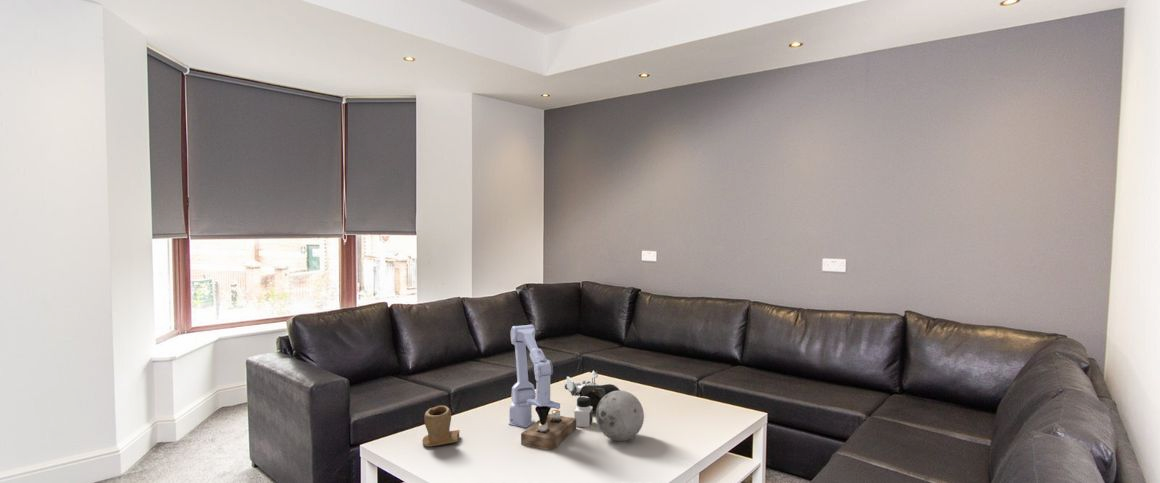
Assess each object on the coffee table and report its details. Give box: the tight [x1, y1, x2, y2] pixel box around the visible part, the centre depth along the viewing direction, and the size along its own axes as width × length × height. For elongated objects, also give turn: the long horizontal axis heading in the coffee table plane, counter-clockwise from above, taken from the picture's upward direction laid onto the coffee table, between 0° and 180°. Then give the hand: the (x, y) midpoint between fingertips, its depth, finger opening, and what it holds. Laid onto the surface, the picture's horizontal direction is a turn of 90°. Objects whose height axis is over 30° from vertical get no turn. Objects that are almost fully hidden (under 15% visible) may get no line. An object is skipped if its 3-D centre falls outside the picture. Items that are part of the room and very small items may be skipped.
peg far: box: [551, 409, 561, 423], centre depth 227 cm, size 4×4×4 cm
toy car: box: [564, 370, 599, 396], centre depth 283 cm, size 18×10×12 cm
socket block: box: [520, 413, 577, 451], centre depth 222 cm, size 14×24×4 cm, turn 157°
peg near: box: [539, 423, 548, 434], centre depth 216 cm, size 4×4×4 cm
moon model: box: [595, 389, 645, 442], centre depth 219 cm, size 20×20×20 cm
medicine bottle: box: [573, 396, 594, 428], centre depth 235 cm, size 7×7×12 cm
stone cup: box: [421, 405, 461, 447], centre depth 214 cm, size 15×12×15 cm
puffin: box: [579, 383, 620, 413], centre depth 254 cm, size 20×21×13 cm
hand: (543, 423), depth 216 cm, fingers closed, pressing on peg near
